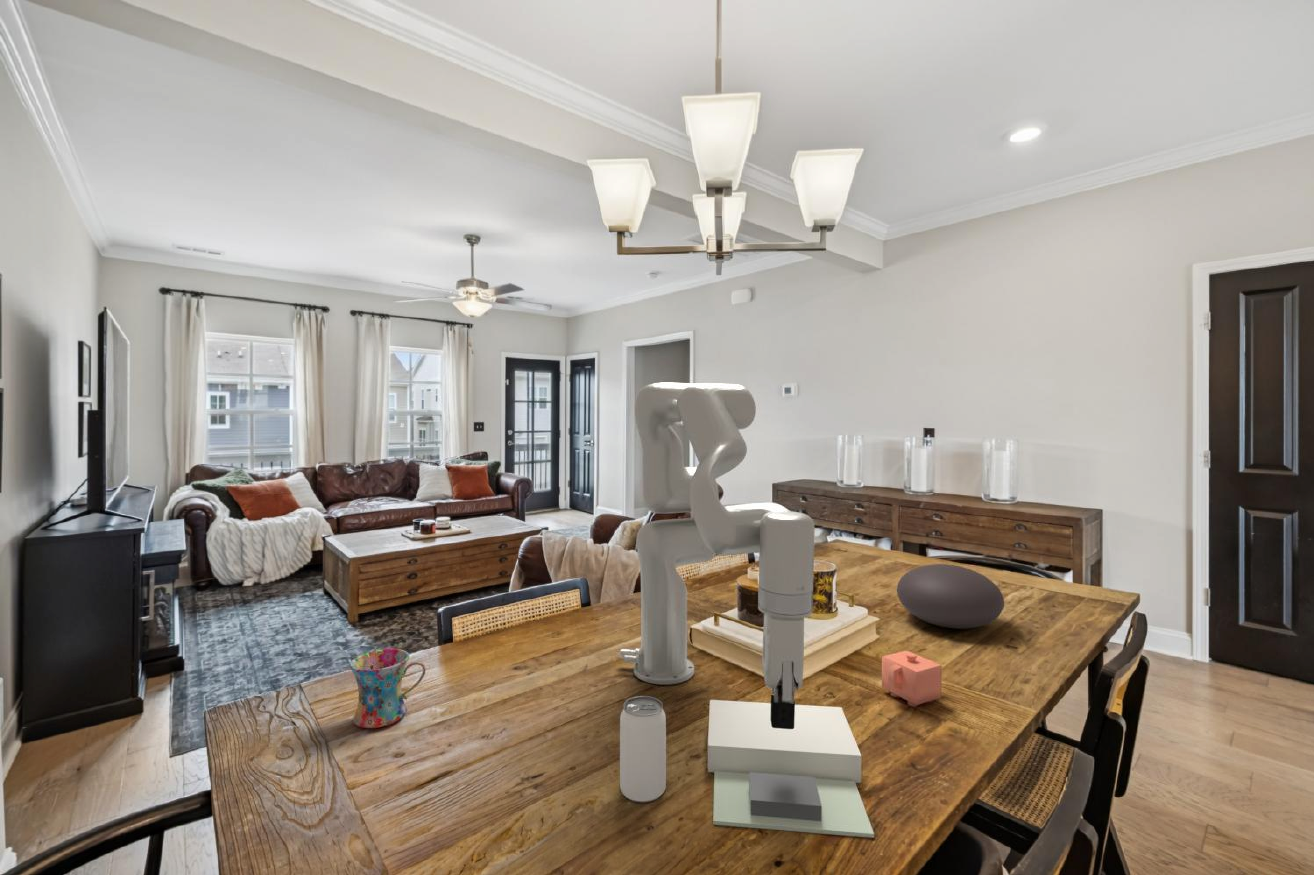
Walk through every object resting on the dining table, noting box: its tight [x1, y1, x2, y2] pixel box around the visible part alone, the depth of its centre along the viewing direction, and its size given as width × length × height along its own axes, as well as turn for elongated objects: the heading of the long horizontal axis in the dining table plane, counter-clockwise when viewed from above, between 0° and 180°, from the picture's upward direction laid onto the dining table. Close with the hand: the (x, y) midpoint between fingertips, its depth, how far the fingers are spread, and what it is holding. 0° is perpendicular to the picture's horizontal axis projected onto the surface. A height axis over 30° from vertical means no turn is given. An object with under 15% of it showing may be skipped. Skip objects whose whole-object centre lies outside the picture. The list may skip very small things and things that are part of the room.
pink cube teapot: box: [881, 649, 943, 708], centre depth 108 cm, size 8×12×8 cm, turn 116°
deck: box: [707, 699, 862, 784], centre depth 90 cm, size 22×14×4 cm, turn 83°
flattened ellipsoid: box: [896, 563, 1005, 630], centre depth 147 cm, size 25×25×15 cm
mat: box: [712, 771, 875, 839], centre depth 77 cm, size 20×10×1 cm, turn 83°
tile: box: [749, 772, 822, 821], centre depth 77 cm, size 9×6×2 cm, turn 83°
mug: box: [349, 648, 427, 729], centre depth 100 cm, size 12×9×11 cm
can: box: [619, 695, 667, 804], centre depth 80 cm, size 6×6×12 cm
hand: (782, 725), depth 81 cm, fingers closed
